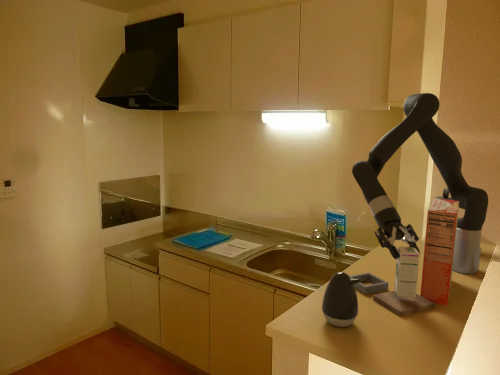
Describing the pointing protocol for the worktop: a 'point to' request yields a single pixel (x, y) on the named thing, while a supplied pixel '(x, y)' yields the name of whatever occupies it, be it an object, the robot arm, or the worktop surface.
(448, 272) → the pasta box
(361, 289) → the holder
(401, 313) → the board
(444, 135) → the robot arm
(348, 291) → the pump dispenser
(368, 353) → the worktop surface
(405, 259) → the syrup box
